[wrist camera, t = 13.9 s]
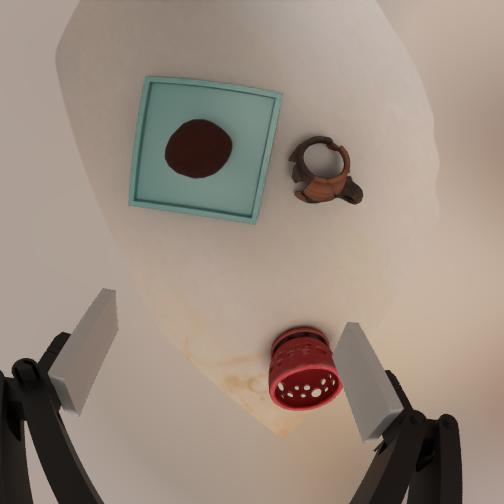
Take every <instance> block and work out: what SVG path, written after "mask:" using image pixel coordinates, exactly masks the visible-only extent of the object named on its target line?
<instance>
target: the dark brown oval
mask: <svg viewBox="0 0 504 504" xmlns="http://www.w3.org/2000/svg"><path fill="white" fill-rule="evenodd" d="M231 151H232V140H231V138H230V136H229V135H228V134H227V133H226V132H225V131H224V130H223V129H222V128H221V127H219V126H218V125H216V124H215V123H213V122H211V121H208V120H205V119H193V120H190V121H188V122H185V123H183V124H182V125H181V126H180V127H179V128H178V129H177V130H176V131H175V132H174V133H173V134H172V135H171V136H170V139H169V141H168V143H167V145H166V148H165V160H166V162H167V164H168V166H169V167H170V168H171V169H173V170H174V171H175V172H176V173H178V174H181V175H184V176H187V177H190V178H194V179H197V178H205V177H208V176H211V175H213V174H215V173H216V172H218V171H219V170H220V169H221V168H222V167H223V166H224V165H225V163H226V162H227V161H228V159H229V157H230V155H231Z"/></svg>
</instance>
